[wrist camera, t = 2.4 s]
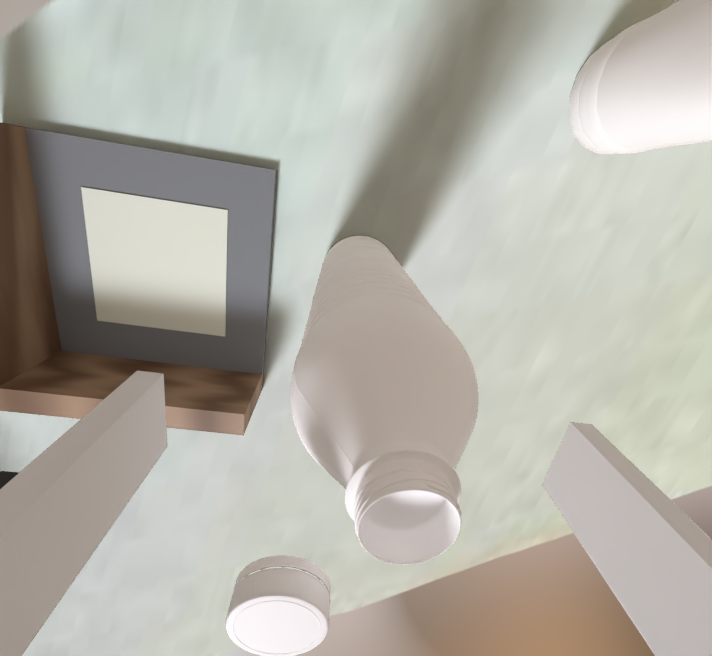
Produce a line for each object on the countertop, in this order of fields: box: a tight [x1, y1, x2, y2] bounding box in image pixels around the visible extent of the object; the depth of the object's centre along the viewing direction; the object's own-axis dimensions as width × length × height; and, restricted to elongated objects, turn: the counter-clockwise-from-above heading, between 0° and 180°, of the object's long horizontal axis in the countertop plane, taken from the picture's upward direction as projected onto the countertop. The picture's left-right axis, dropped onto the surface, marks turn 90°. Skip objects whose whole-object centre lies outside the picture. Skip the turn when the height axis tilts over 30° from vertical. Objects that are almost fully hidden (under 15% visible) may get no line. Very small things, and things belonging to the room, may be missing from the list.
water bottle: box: [225, 236, 478, 656], centre depth 19 cm, size 9×6×25 cm
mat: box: [24, 127, 277, 374], centre depth 29 cm, size 18×18×1 cm
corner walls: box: [0, 123, 263, 435], centre depth 27 cm, size 20×20×7 cm
